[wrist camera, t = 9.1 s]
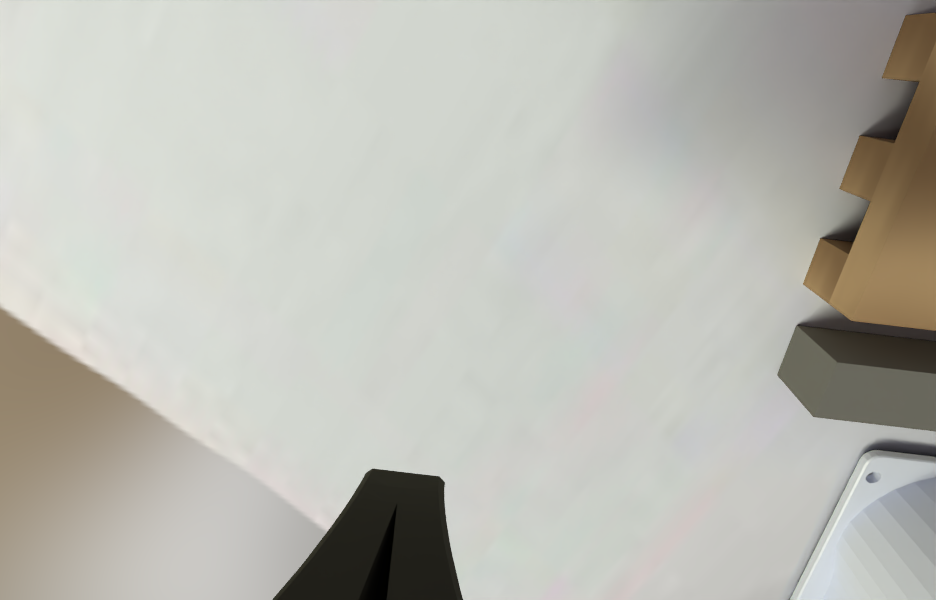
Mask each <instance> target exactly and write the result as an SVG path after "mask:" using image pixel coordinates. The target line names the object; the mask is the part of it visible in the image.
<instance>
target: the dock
mask: <svg viewBox="0 0 936 600" xmlns="http://www.w3.org/2000/svg"><path fill="white" fill-rule="evenodd" d="M778 377H779V378H780V379H781V380H782V381H783V382H784V383H785V385H786V386H787V387H788V388H789V389H790V390H791V391H792V393H793V394H794V395H795V396H796V397H797V398H798V400H799V401H800V402H801V403H802V404H803V405H804V406H805V408H806V409H807V410H808V411H809V412H810V413H811V415H812V416H813V417H818V418H827V419H835V420H844V421H852V422H861V423H869V424H878V425H887V426H895V427H904V428H912V429H921V430H929V431H936V342H935V341H926V340H918V339H909V338H901V337H892V336H883V335H875V334H866V333H858V332H849V331H841V330H832V329H824V328H815V327H806V326H798V325H797V326H796V328H795V331H794V334H793V336H792V339H791V341H790V344H789V346H788V349H787V352H786V354H785V357H784V359H783V362H782V364H781V367H780V369H779V372H778Z"/></svg>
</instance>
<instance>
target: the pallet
mask: <svg viewBox="0 0 936 600" xmlns="http://www.w3.org/2000/svg"><path fill="white" fill-rule="evenodd" d="M882 78H886V79H895V80H903V81H912V82H919V84H918V87H917V89H916V92H915V94H914V96H913V99H912V101H911V104H910V106H909V109H908V111H907V114H906V116H905V118H904V121H903V123H902V126H901V128H900V131H899V133H898V136H897V138H896V140H893V139H884V138H876V137H867V136H859V139H858V141H857V144H856V147H855V149H854V152H853V155H852V157H851V160H850V162H849V165H848V168H847V170H846V173H845V175H844V178H843V181H842V183H841V186H840V189H841V190H843V191H846V192H848V193H851V194H853V195H856V196H858V197H861V198H864V199H866V200H869V201H870V204H869V206H868V209H867V211H866V214H865V216H864V219H863V221H862V223H861V226H860V228H859V231H858V233H857V236H856V238H855V241H854V242H849V241H840V240H831V239H823V238H820V241H819V243H818V246H817V249H816V251H815V254H814V256H813V259H812V262H811V264H810V267H809V270H808V272H807V275H806V277H805V280H804V283H803V284H804V285H805V286H806V287H807V288H809V289H810V290H811V291H813V292H814V293H815V294H817V295H818V296H819V297H821V298H822V299H823V300H825V301H826V302H827V303H829V304H830V305H831V306H833V307H834V308H835V309H836V310H838V311H839V312H840V313H842V314H843V315H844V316H846V317H847V318H848V319H850V320H851V321H857V322H866V323H874V324H883V325H892V326H900V327H909V328H917V329H926V330H934V331H936V13H926V14H916V15H906V16H905V19H904V21H903V24H902V26H901V29H900V32H899V34H898V37H897V39H896V42H895V45H894V47H893V50H892V53H891V55H890V58H889V60H888V63H887V66H886V68H885V71H884V73H883V76H882Z"/></svg>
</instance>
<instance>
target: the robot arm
mask: <svg viewBox="0 0 936 600" xmlns="http://www.w3.org/2000/svg"><path fill="white" fill-rule="evenodd" d="M872 472H873V473H872ZM870 473H872V474H870ZM868 474H870V475H868ZM867 475H868V476H867ZM444 485H445V482H444V481H443V480H442V479H441V478H440V477H439V476H430V475H422V474H413V473H405V472H396V471H388V470H379V469H371V470H370V471H368V472H367V473H366V474H365V476H364V478H363V480H362V481H361V483H360V485H359V486H358V488H357V490H356V491H355V493H354V494H353V496H352V498H351V499H350V501H349V502H348V504H347V505H346V507H345V508H344V510H343V511H342V512H341V514H340V515H339V517H338V518H337V519H336V521H335V522H334V524H333V525H332V527H331V528H330V529H329V531H328V532H327V533H326V534H325V536H324V537H323V538H322V540H321V541H320V542H319V544H318V545H317V546H316V548H315V549H314V550H313V551H312V553H311V554H310V555H309V557H308V558H307V559H306V561H305V562H304V563H303V564H302V566H301V567H300V568H299V569H298V571H297V572H296V573H295V574H294V575H293V576H292V577H291V579H290V580H289V581H288V582H287V583H286V584H285V586H284V587H283V588H282V589H281V590H280V591H279V593H278V594H277V595H276V596H275V597H274V598H273V600H463V598H462V595H461V591H460V587H459V583H458V578H457V574H456V570H455V565H454V561H453V557H452V552H451V547H450V542H449V536H448V529H447V523H446V515H445V504H444ZM790 600H936V457H933V456H924V455H916V454H907V453H899V452H890V451H882V450H872V451H869V452H867V453H865V454H864V455H863V456H862V457H861V458H860V460H859V462H858V464H857V466H856V468H855V470H854V472H853V474H852V476H851V478H850V480H849V482H848V484H847V486H846V488H845V490H844V492H843V494H842V496H841V498H840V500H839V502H838V504H837V506H836V508H835V510H834V512H833V514H832V516H831V518H830V520H829V522H828V524H827V526H826V528H825V530H824V532H823V534H822V536H821V538H820V540H819V542H818V544H817V546H816V548H815V550H814V552H813V554H812V556H811V558H810V560H809V562H808V564H807V566H806V568H805V570H804V572H803V574H802V576H801V578H800V580H799V582H798V584H797V586H796V588H795V590H794V592H793V594H792V596H791V598H790Z"/></svg>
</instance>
